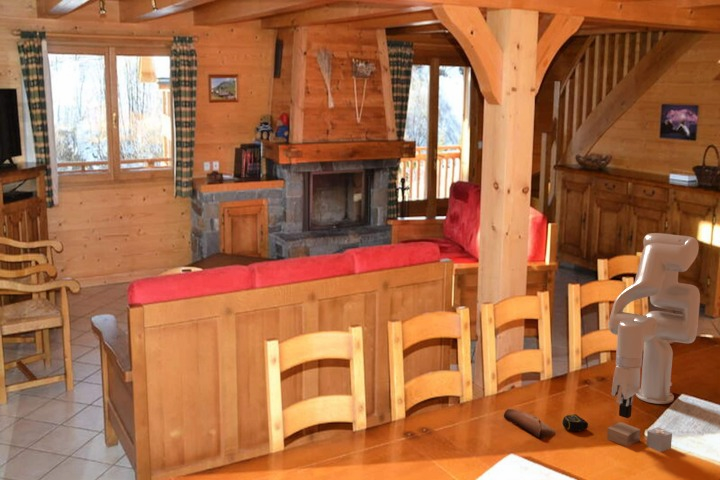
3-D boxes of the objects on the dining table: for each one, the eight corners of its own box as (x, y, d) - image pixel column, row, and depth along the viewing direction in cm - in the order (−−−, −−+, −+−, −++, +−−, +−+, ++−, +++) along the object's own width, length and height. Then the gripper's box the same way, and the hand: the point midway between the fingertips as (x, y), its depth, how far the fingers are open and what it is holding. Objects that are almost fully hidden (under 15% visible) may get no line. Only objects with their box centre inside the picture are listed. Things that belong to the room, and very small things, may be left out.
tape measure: (588, 431, 243) (589, 421, 242) (570, 434, 241) (570, 423, 240) (576, 423, 249) (577, 412, 249) (558, 425, 247) (559, 415, 247)
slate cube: (657, 442, 236) (658, 426, 235) (670, 448, 232) (672, 432, 231) (646, 445, 233) (647, 430, 232) (660, 452, 229) (661, 436, 228)
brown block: (619, 433, 242) (620, 421, 241) (639, 441, 237) (640, 429, 236) (606, 439, 238) (607, 427, 237) (626, 447, 232) (627, 435, 232)
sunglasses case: (560, 433, 241) (552, 419, 239) (545, 448, 239) (537, 433, 236) (522, 412, 257) (515, 399, 254) (508, 426, 255) (500, 412, 252)
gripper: (628, 351, 240) (624, 405, 243) (605, 363, 229) (602, 420, 233) (651, 357, 235) (647, 412, 238) (629, 370, 224) (625, 427, 228)
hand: (624, 416), depth 236 cm, fingers closed
